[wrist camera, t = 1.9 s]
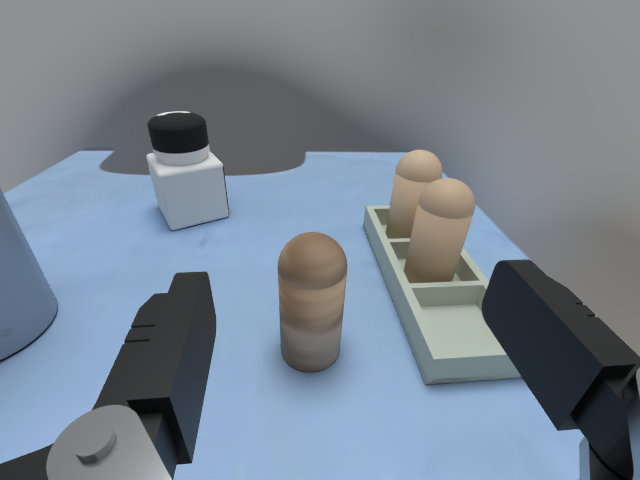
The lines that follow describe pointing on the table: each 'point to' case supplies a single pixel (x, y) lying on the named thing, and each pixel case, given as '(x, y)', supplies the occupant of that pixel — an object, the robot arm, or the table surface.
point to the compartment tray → (435, 273)
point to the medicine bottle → (185, 171)
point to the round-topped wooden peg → (311, 300)
